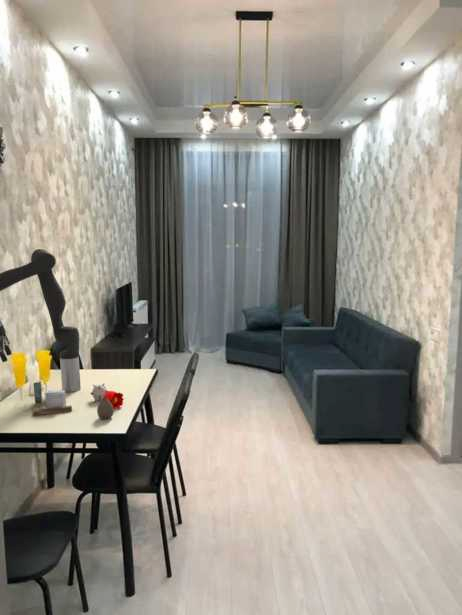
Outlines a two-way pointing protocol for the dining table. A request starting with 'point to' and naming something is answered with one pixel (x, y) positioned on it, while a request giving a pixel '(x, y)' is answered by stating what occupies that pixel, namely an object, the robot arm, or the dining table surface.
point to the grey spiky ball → (99, 392)
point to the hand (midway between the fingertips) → (7, 358)
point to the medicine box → (55, 398)
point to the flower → (114, 398)
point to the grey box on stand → (39, 401)
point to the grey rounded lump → (105, 409)
